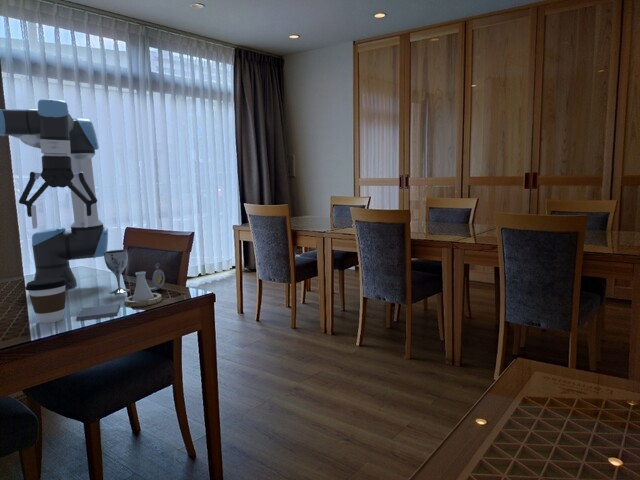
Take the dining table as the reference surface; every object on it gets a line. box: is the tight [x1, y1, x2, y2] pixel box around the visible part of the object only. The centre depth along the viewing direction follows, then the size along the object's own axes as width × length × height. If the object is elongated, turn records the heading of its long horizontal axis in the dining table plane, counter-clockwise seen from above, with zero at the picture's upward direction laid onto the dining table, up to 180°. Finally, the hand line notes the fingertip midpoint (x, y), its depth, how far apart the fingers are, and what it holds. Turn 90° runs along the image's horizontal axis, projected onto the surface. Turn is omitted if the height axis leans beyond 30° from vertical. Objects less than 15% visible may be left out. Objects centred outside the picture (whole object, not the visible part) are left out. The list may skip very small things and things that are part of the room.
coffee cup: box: [24, 277, 68, 324], centre depth 140 cm, size 11×11×12 cm
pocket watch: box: [148, 262, 166, 292], centre depth 173 cm, size 8×8×10 cm
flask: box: [132, 271, 154, 301], centre depth 156 cm, size 7×7×10 cm
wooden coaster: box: [123, 292, 162, 308], centre depth 157 cm, size 11×11×2 cm
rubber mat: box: [76, 302, 121, 321], centre depth 146 cm, size 11×11×1 cm
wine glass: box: [103, 249, 131, 295], centre depth 173 cm, size 8×8×15 cm
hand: (61, 227), depth 141 cm, fingers open, 13 cm apart
